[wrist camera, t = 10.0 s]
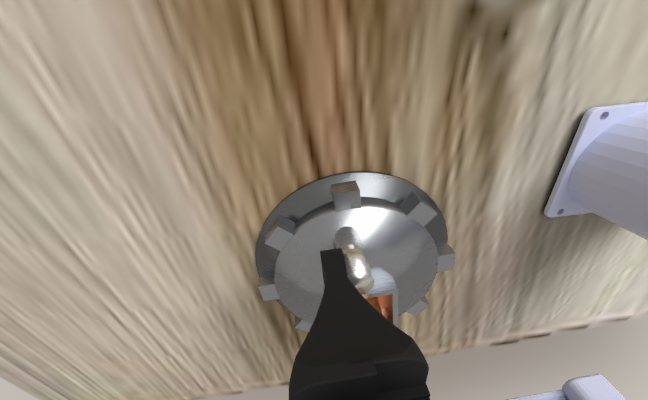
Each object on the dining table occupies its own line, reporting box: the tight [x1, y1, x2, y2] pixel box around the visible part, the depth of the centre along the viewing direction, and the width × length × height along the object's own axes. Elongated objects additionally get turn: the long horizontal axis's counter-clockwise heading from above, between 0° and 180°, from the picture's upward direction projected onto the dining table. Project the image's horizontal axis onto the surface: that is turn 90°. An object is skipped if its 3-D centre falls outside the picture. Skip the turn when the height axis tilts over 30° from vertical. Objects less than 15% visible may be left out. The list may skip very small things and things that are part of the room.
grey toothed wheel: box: [258, 180, 455, 333], centre depth 17 cm, size 14×14×6 cm
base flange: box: [256, 171, 447, 307], centre depth 19 cm, size 15×15×1 cm
